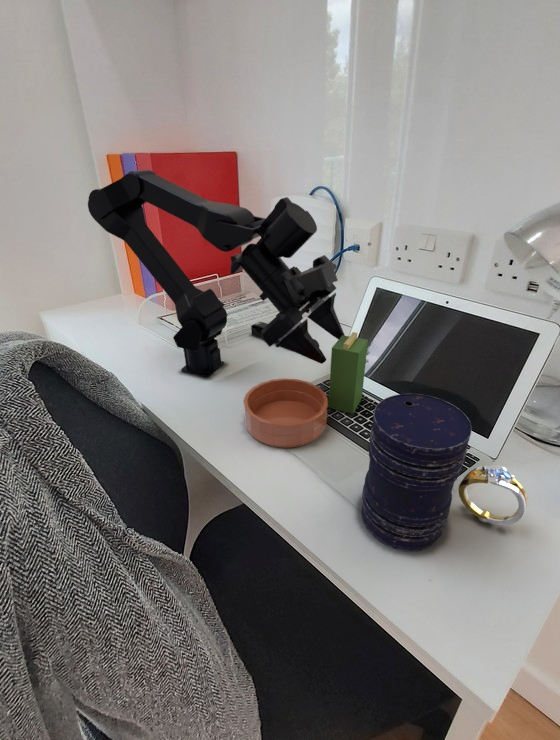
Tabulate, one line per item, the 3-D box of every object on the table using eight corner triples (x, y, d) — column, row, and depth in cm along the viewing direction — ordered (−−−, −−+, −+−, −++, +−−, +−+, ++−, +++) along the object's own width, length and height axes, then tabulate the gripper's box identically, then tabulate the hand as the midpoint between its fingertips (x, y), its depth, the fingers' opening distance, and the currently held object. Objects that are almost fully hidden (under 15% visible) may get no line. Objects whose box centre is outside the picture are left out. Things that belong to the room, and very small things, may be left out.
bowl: (230, 434, 65) (228, 411, 63) (268, 393, 75) (267, 372, 73) (307, 458, 60) (308, 434, 57) (337, 411, 70) (339, 388, 67)
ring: (449, 512, 51) (463, 463, 47) (459, 497, 53) (474, 449, 49) (510, 544, 47) (531, 494, 43) (518, 526, 49) (540, 477, 45)
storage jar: (460, 544, 47) (494, 442, 39) (379, 559, 46) (397, 456, 38) (419, 482, 55) (440, 388, 47) (349, 493, 54) (359, 398, 46)
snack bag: (328, 407, 71) (331, 342, 64) (338, 393, 75) (342, 329, 68) (352, 414, 69) (359, 347, 62) (361, 398, 73) (368, 334, 66)
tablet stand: (319, 353, 88) (320, 340, 87) (312, 357, 87) (312, 344, 85) (258, 331, 98) (257, 320, 97) (250, 335, 97) (249, 323, 95)
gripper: (278, 257, 54) (353, 348, 55) (327, 230, 68) (386, 303, 70) (231, 306, 61) (299, 385, 63) (285, 272, 75) (339, 337, 77)
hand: (334, 349), depth 68 cm, fingers open, 9 cm apart
